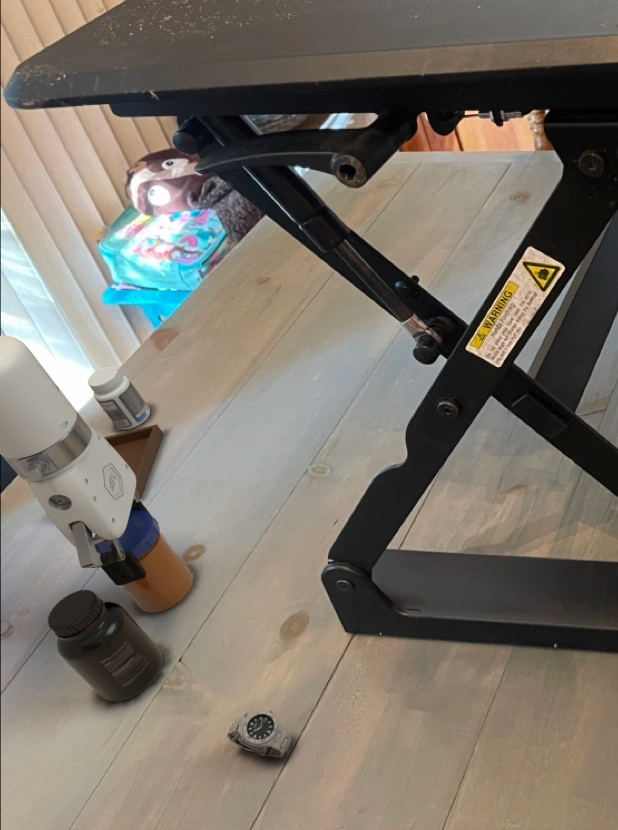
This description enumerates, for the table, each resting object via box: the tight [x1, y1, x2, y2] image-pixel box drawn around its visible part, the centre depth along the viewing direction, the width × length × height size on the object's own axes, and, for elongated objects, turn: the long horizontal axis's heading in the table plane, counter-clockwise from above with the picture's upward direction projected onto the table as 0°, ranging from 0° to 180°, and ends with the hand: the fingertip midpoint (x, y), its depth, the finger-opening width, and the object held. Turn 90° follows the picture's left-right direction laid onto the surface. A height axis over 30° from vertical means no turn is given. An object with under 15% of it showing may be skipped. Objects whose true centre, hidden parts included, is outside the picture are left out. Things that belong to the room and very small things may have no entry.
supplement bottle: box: [47, 588, 164, 702], centre depth 110 cm, size 7×7×12 cm
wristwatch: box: [226, 710, 292, 759], centre depth 103 cm, size 4×6×5 cm, turn 74°
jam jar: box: [121, 531, 194, 614], centre depth 120 cm, size 6×6×9 cm
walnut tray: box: [103, 424, 164, 499], centre depth 140 cm, size 11×12×2 cm
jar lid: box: [93, 510, 161, 560], centre depth 117 cm, size 7×7×2 cm
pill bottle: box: [87, 365, 151, 431], centre depth 147 cm, size 5×5×8 cm
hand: (137, 553), depth 119 cm, fingers closed on jar lid, 6 cm apart
